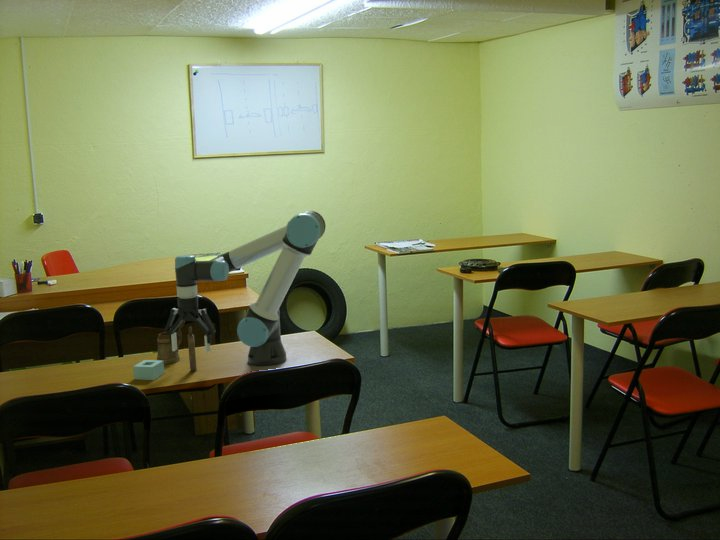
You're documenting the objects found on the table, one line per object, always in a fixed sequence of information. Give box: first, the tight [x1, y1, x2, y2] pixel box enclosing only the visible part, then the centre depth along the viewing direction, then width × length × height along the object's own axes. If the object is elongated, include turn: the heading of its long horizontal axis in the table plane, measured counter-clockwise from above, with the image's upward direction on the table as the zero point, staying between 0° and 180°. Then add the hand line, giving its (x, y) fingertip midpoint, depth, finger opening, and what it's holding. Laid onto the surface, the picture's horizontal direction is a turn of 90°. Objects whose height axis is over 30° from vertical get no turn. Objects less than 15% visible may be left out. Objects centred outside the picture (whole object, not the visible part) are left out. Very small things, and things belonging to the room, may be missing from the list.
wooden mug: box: [156, 320, 186, 365], centre depth 280 cm, size 9×14×18 cm, turn 125°
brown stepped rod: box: [187, 326, 198, 373], centre depth 264 cm, size 2×2×17 cm
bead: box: [132, 359, 165, 381], centre depth 261 cm, size 8×8×5 cm
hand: (191, 351), depth 265 cm, fingers open, 13 cm apart
